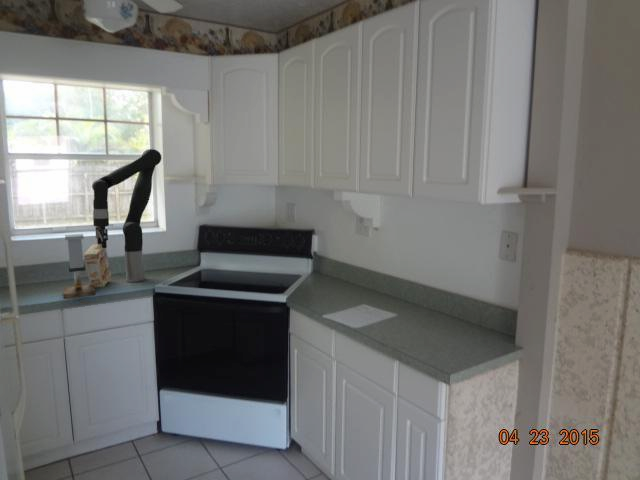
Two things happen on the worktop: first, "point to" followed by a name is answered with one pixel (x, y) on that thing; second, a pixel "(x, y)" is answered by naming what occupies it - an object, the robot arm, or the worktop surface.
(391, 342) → the worktop surface
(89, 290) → the walnut board
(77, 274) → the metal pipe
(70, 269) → the thin charcoal panel
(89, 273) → the coffeecake box
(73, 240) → the plastic sleeve
